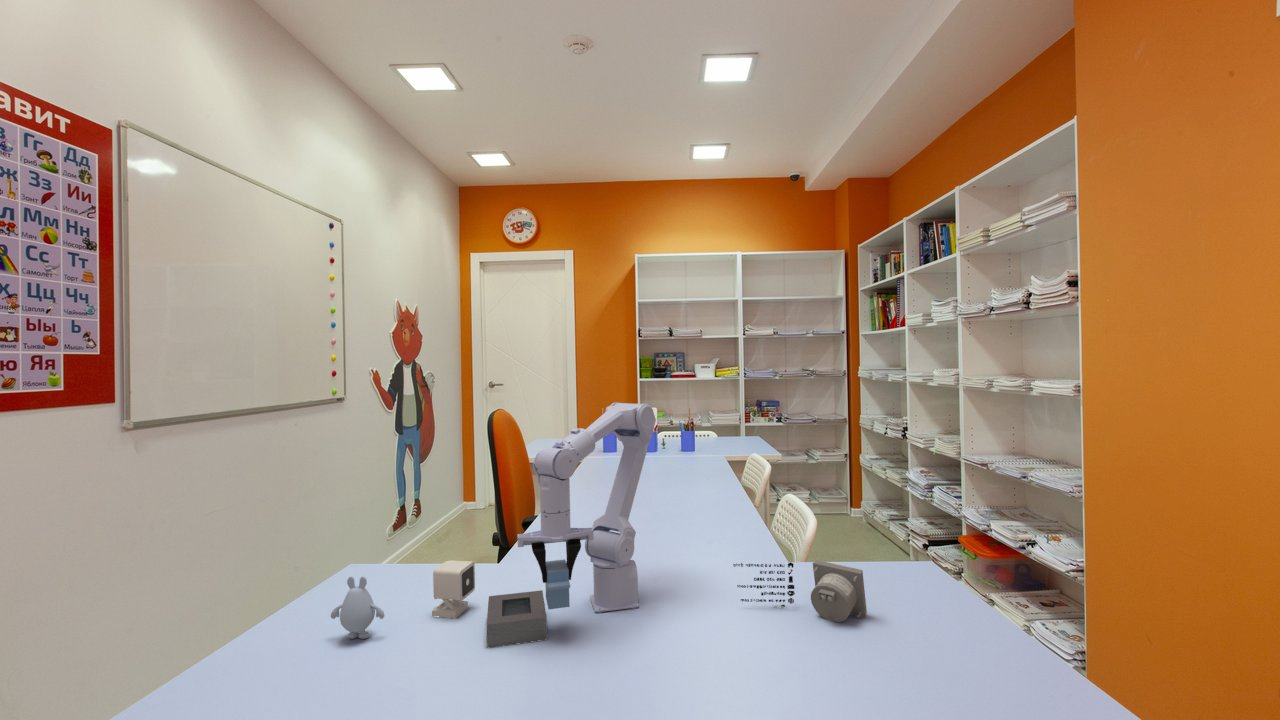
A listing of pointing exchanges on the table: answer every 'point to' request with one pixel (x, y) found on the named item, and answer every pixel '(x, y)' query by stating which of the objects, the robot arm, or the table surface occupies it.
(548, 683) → the table surface
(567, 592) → the block
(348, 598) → the toy figure
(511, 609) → the frame
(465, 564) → the security camera
